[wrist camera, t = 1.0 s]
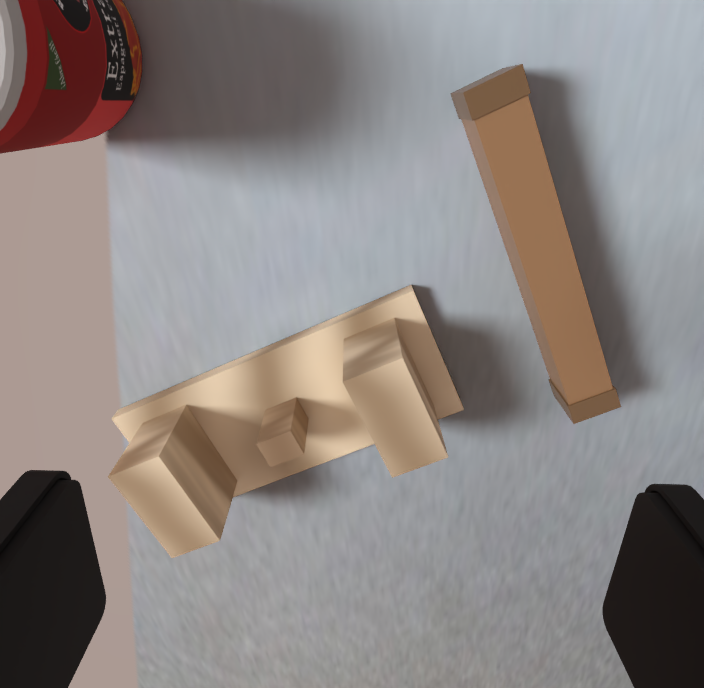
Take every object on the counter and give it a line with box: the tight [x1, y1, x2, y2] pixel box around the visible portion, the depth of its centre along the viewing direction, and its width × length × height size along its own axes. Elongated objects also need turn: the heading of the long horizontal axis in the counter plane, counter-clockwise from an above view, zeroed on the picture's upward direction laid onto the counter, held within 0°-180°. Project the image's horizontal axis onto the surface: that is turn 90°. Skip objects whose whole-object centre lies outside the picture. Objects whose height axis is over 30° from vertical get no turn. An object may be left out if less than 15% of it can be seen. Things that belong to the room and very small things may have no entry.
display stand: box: [108, 285, 464, 558], centre depth 30 cm, size 19×8×6 cm, turn 114°
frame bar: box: [451, 64, 621, 424], centre depth 27 cm, size 18×3×3 cm, turn 24°
